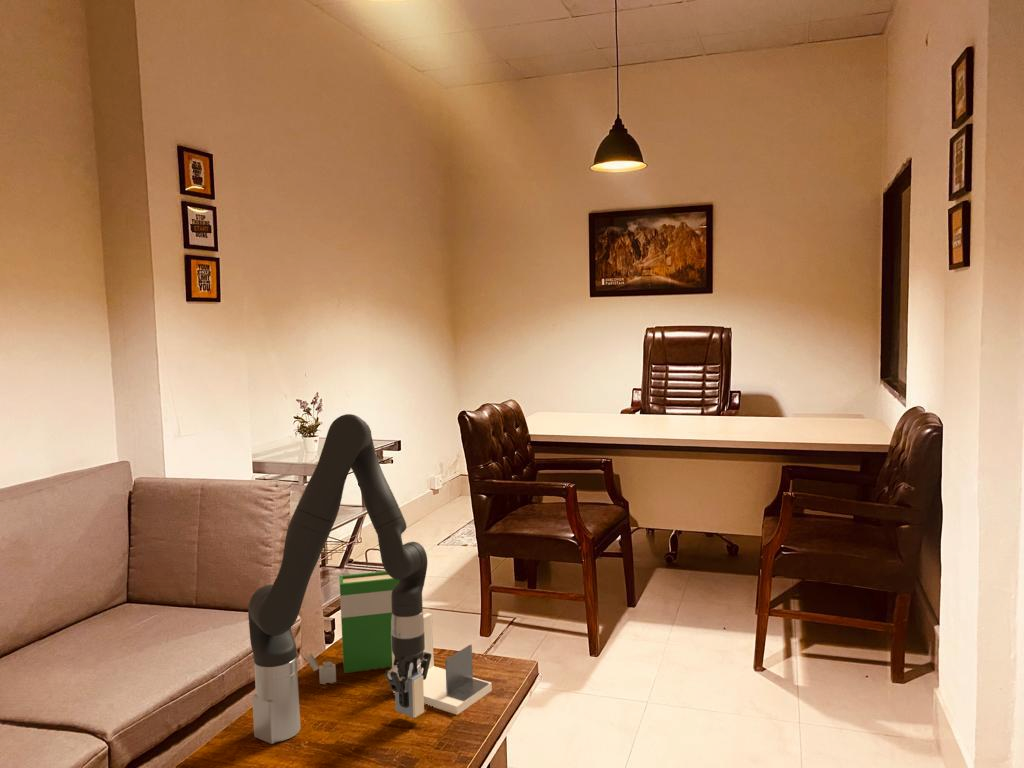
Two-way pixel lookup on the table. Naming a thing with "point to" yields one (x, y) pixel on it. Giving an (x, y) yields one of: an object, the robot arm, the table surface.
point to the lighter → (323, 670)
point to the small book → (412, 697)
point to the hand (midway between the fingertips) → (409, 703)
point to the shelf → (442, 680)
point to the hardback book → (366, 620)
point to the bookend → (461, 675)
